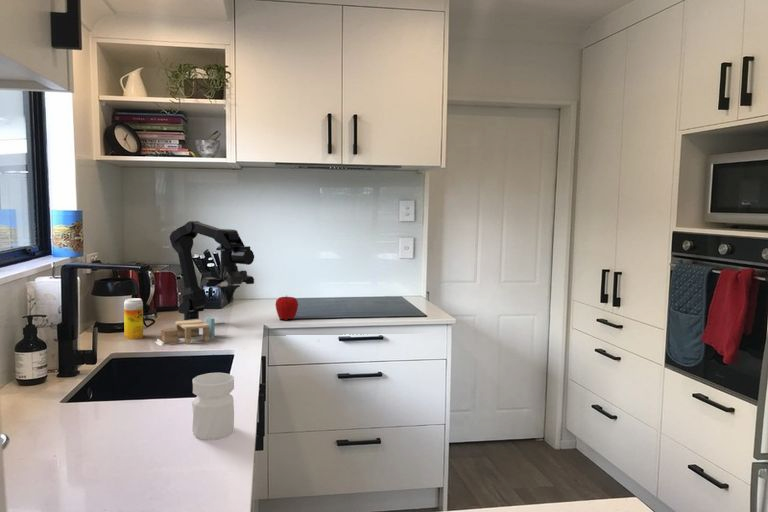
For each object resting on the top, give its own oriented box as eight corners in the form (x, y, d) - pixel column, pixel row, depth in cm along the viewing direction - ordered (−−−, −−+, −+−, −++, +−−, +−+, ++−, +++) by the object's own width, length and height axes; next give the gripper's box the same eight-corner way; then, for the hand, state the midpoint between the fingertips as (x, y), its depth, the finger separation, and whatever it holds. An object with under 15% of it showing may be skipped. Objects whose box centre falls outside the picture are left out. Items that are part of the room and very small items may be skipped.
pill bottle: (214, 420, 123) (214, 370, 122) (242, 429, 119) (242, 377, 118) (183, 434, 116) (183, 380, 115) (211, 444, 112) (211, 388, 110)
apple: (281, 323, 227) (281, 297, 226) (271, 319, 234) (271, 294, 233) (302, 320, 233) (302, 295, 232) (291, 316, 240) (291, 292, 239)
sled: (154, 344, 186) (154, 322, 185) (208, 337, 198) (208, 316, 197) (159, 348, 181) (159, 325, 180) (215, 340, 193) (215, 319, 192)
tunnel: (175, 340, 193) (175, 321, 192) (197, 338, 198) (197, 318, 197) (186, 348, 184) (186, 327, 183) (209, 344, 189) (209, 324, 188)
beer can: (135, 343, 188) (135, 301, 187) (120, 342, 189) (120, 300, 188) (146, 339, 194) (146, 298, 193) (132, 338, 195) (131, 297, 194)
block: (160, 341, 186) (160, 328, 186) (173, 339, 189) (173, 327, 189) (164, 344, 183) (164, 331, 182) (177, 342, 185) (177, 329, 185)
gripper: (212, 266, 191) (212, 309, 192) (260, 263, 202) (260, 304, 204) (201, 262, 200) (201, 304, 201) (248, 260, 211) (247, 299, 213)
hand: (228, 303), depth 204 cm, fingers closed
